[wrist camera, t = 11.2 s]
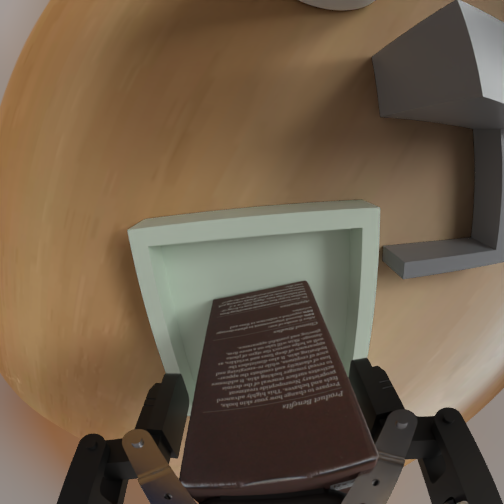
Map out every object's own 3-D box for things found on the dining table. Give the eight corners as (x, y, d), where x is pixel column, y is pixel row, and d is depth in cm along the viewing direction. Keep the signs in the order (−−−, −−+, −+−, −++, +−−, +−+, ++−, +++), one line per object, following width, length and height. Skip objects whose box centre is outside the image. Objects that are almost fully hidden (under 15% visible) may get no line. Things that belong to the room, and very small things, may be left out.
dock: (483, 82, 13) (576, 71, 4) (485, 248, 17) (570, 299, 8) (371, 56, 13) (465, -7, 4) (382, 260, 17) (470, 346, 8)
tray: (362, 199, 16) (380, 207, 14) (349, 379, 21) (358, 401, 18) (144, 219, 16) (127, 229, 14) (187, 392, 21) (182, 415, 18)
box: (230, 353, 19) (215, 522, 7) (212, 296, 17) (167, 481, 6) (319, 336, 18) (369, 501, 7) (310, 276, 17) (383, 453, 6)
